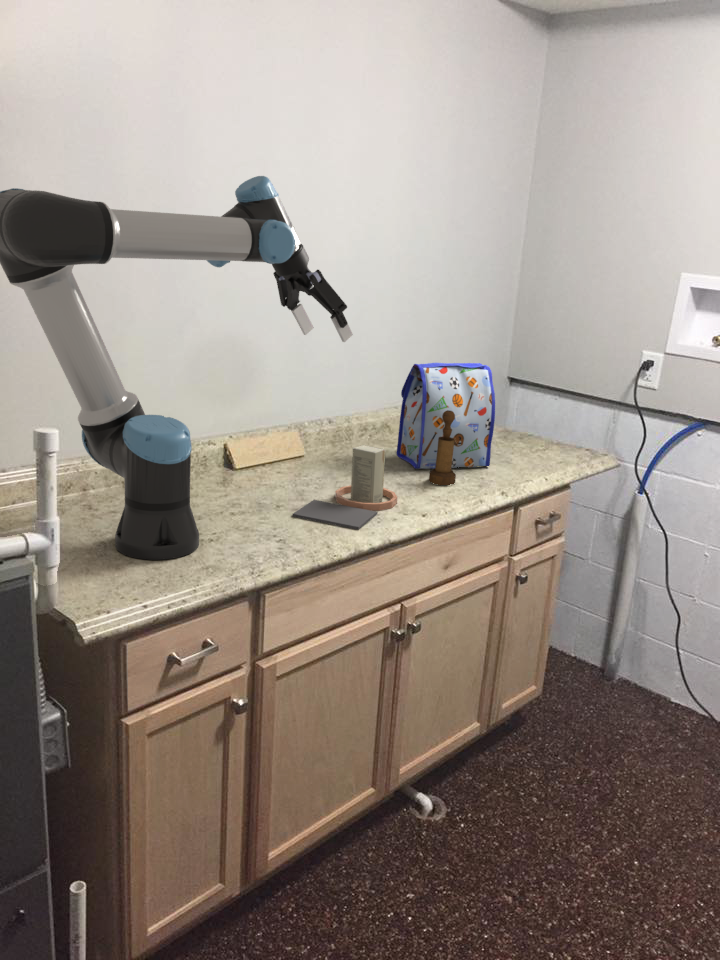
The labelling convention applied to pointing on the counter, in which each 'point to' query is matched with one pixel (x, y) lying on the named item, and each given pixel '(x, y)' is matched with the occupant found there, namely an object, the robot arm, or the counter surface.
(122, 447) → the robot arm
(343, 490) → the pink polygonal ring
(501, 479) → the counter surface
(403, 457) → the lunch bag
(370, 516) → the rubber mat
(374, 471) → the skincare box
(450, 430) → the mortar and pestle
